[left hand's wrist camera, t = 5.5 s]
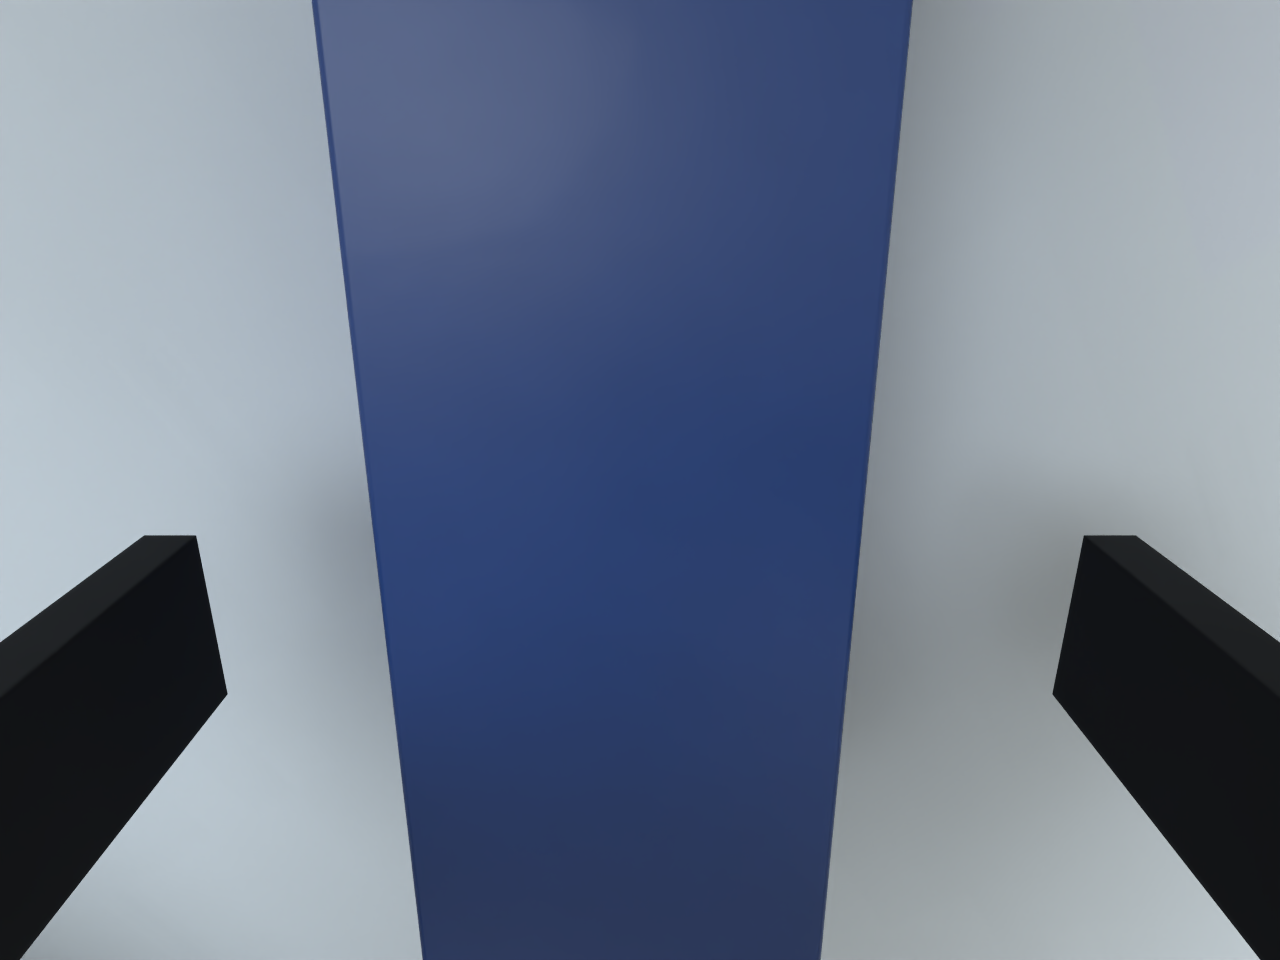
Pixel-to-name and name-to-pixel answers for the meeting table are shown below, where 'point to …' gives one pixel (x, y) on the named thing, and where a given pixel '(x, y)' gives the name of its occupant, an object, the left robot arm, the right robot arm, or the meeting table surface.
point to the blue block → (616, 447)
